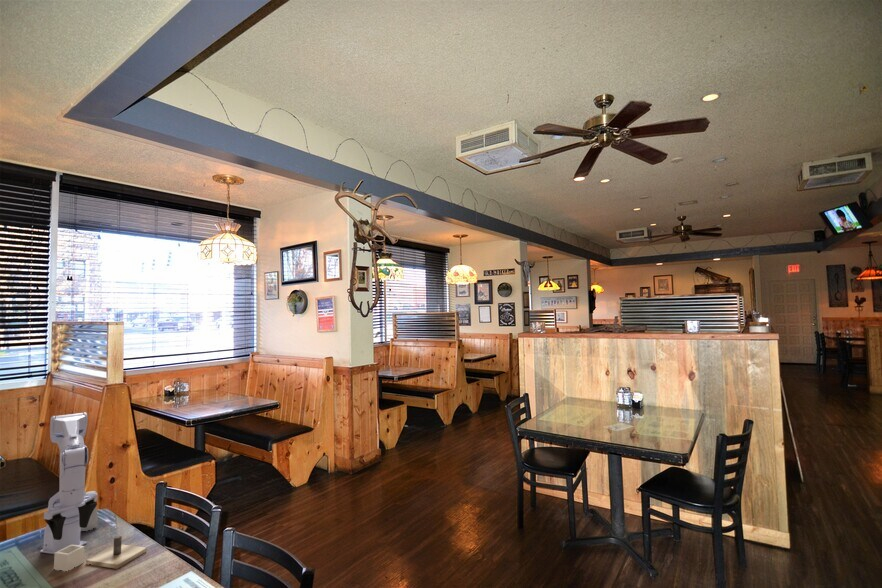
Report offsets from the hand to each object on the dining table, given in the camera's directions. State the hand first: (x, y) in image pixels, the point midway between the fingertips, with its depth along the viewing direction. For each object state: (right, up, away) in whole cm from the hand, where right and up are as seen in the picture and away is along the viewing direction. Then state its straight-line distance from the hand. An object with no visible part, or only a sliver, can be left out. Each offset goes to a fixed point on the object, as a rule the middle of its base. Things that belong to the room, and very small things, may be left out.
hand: (70, 533), depth 134 cm
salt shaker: (-13, -11, +23) cm, 29 cm away
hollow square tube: (0, -10, -1) cm, 10 cm away
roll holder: (+11, -10, +4) cm, 16 cm away
